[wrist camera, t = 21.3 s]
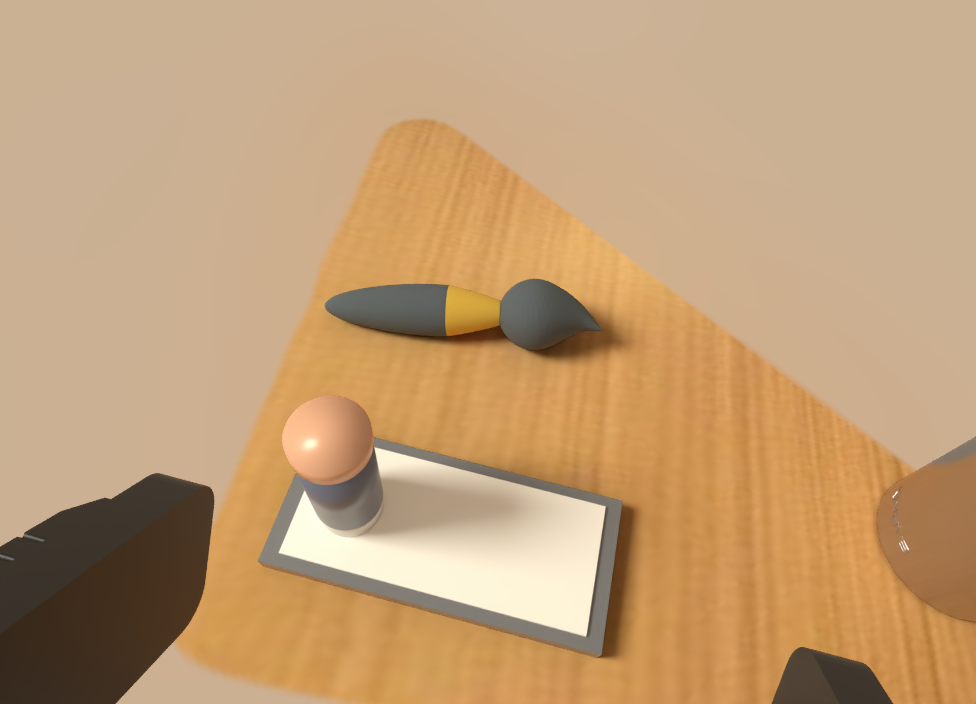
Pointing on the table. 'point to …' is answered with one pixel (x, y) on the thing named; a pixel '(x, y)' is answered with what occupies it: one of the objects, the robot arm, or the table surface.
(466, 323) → the paintbrush
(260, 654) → the table surface
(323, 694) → the table surface
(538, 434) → the table surface
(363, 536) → the whiteboard
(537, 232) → the table surface
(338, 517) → the peach capped blue cylinder
